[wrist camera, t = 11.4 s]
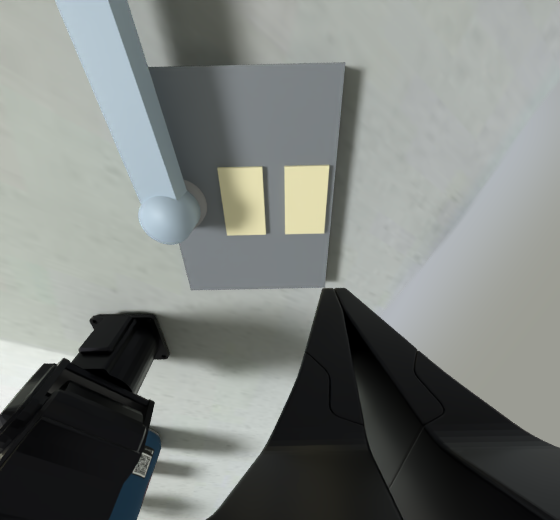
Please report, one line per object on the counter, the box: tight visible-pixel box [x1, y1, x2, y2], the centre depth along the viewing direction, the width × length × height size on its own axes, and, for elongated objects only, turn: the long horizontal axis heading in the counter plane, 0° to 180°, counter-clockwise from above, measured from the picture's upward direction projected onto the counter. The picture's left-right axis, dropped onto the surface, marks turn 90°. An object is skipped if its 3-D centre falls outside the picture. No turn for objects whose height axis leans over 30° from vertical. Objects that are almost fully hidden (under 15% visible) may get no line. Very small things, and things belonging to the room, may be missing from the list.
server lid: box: [148, 62, 345, 290], centre depth 19 cm, size 16×13×2 cm
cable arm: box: [55, 0, 201, 244], centre depth 13 cm, size 16×3×2 cm, turn 7°
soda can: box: [109, 428, 161, 520], centre depth 34 cm, size 7×7×12 cm
